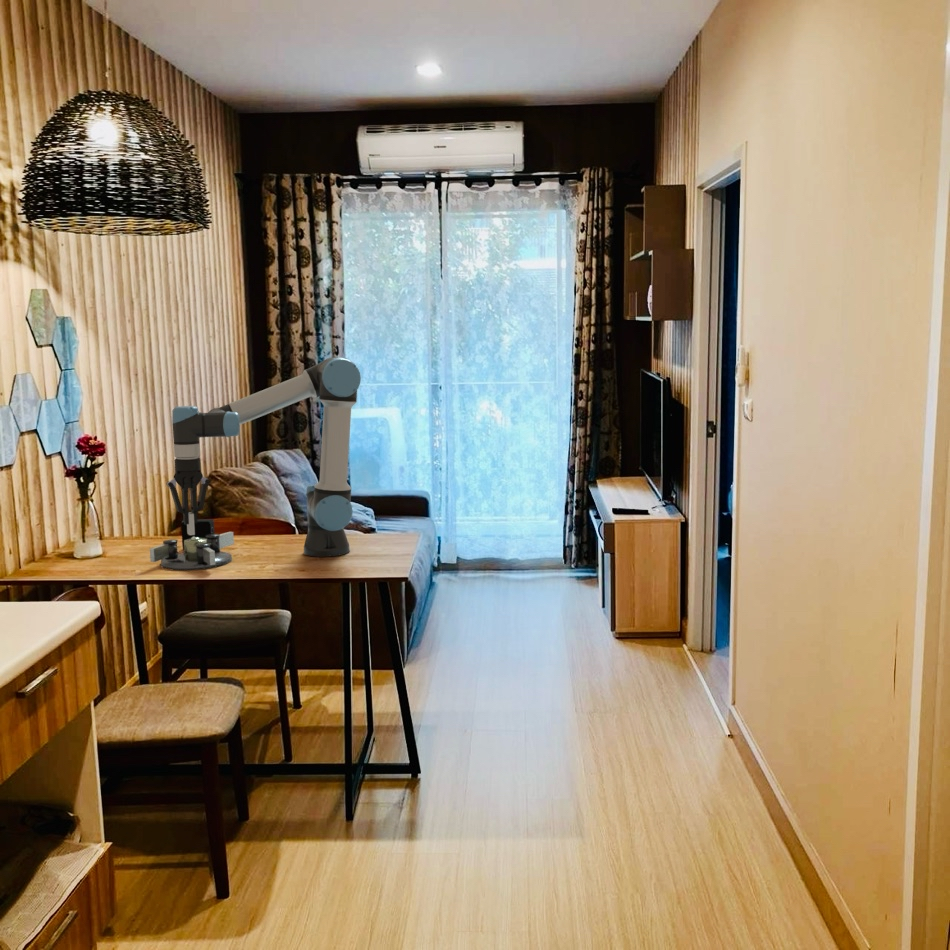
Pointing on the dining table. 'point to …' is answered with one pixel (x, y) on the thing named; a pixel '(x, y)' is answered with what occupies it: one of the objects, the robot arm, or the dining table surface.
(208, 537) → the knob
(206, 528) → the electronic device
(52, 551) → the dining table surface
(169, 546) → the knob
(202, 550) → the knob
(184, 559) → the tribrach
